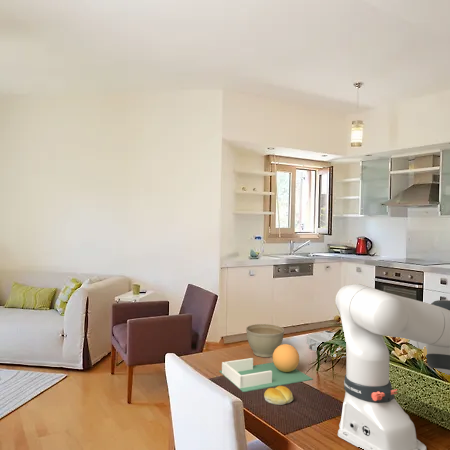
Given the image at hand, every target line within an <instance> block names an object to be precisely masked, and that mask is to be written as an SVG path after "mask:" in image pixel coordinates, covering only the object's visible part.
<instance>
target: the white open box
mask: <svg viewBox="0 0 450 450" xmlns="http://www.w3.org/2000/svg"><path fill="white" fill-rule="evenodd" d="M253 365H254V358H253V357H250V358H244V359H235V360H229V361H222V362H221V370H222V374H221V375H223V374H224V375H225V376H226V377H227V378H228V379H229V380H228V379H227V378H226V377H225V376H224V375H223V376H224V377H225V378H226V379H227V380H228V381H230V380H231V381H232V382H233V383H234V384H235V385H236V387H237V386H238V387H239V388H245V387H251V386H257V385H262V384H268V383H272V371H271V370H270V371H264V372H258V373H252V374H246V375H240V374H239V373H238V372H239V371H245V370H251V369H253ZM231 381H230V382H231ZM232 382H231V383H232ZM233 383H232V384H233ZM234 384H233V385H234ZM235 385H234V386H235ZM238 387H237V388H238ZM239 388H238V389H239Z"/></svg>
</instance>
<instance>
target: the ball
mask: <svg viewBox="0 0 450 450" xmlns="http://www.w3.org/2000/svg"><path fill="white" fill-rule="evenodd" d="M299 362H300V354H299V352H298V350H297V349H296V348H295V347H294V346H293V345H291V344H287V343H283V344H281V345H280V346H278V347H277V348H276V349H275V350H274V352H273V356H272V363H274V365H275V366H276V368H277V369H279V370H280V371H283V372H290V371H293V370H294V369H297V367H298V366H299V364H300V363H299Z"/></svg>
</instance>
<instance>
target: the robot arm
mask: <svg viewBox="0 0 450 450" xmlns="http://www.w3.org/2000/svg"><path fill="white" fill-rule="evenodd" d="M334 302H335V303H334V304H335V306H336V309H337V310H338V313H339V316H340V319H341V326H342V332H344V337H345V342H346V356H342V357H341V358H340V359H342V358H345V360H346V362H345V363H346V365H345V368H346V369H345V372H346V373H345V375H344V379H343V387H344V391H345V393H344V399H343V403H342V410H341V418H340V422H339V424H338V426H339V429H338V430H337V436H338V437H339V438H340V439H342V440H344V441H346V442H347V443H349V444H351V445H353V446H355V447H357V448H358V447H360V448H362V449H364V450H427V445H425V444H424V443H423V442H421V441H420V440H419V439H418V438H417V432H416V427H415V424H414V422H413V421H412V419H411V418H410V416H409V414H408V413H406V412H405V410H404V409H403V408H402V407H401V406H400V404H399V402H397V400H396V398H395V395H397V394H398V392H397V391H398V389H393V387H392V383H391V381H390V351H389V348H388V346H387V345H386V343H385V340H384V337H392V338H399V337H400V338H405V339H409V340H410V342H409V343H410V344H412V345H413V346H415V347H417V348H420V349H423V347H424V346H426V349H427V355H426V358H427V359H426V362H427V365H428V366H429V368H431V370H433V368H435V369H437V370H438V371H440V372H442V373H445V374H444V375H446V374H447V376H448V375H449V376H450V299H440V300H439V299H438V300H435V301H433V302H431V303H428V302H424V301H421V300H417V299H413V298H409V297H405V296H402V295H398V294H394V293H390V292H386V291H383V290H380V289H376V288H373V287H371V286H367V285H365V284H364V285H363V284H360V283H354V284H353V283H352V284H346V285H344V286H342V287H340V288H339V290H338V291H337V293H336V295H335V301H334ZM336 332H337V331H330V330H323V331H322V332H315V333H310V334H308V335H306V344H307V345H308V349H309V350H311V351H314V352H315V351H317V347H318V346H319V345H320V344H321V343H322V342H326V341H329V340H331V339H332V337H333V336H334V334H335V333H336ZM383 336H384V337H383ZM340 349H341V348H340V347H339V348H337V350H336V351H338V350H340ZM323 351H324V347H323V349H322V350H321V351H320V352H323ZM325 354H327V352H326V353H325ZM332 357H333V358H335V357H336V354H334V355H333V356H332ZM442 373H441V374H442ZM360 448H359V449H360ZM362 449H361V450H362Z"/></svg>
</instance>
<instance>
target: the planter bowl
mask: <svg viewBox="0 0 450 450" xmlns="http://www.w3.org/2000/svg"><path fill="white" fill-rule="evenodd" d="M245 330H246V338H247V342H248V345H249V346H250V348H251V350H252V352H253V354H254V355H255V356H256V357H261V358H273V352H274V350H275V349H276V348H277V347H278V346H280V345H282V343H283V340H284V333H285V329H284V328H283V327H282V326H279V325H275V324H269V323H267V324H266V323H257V324H250V325H248V326H246V329H245Z"/></svg>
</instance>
